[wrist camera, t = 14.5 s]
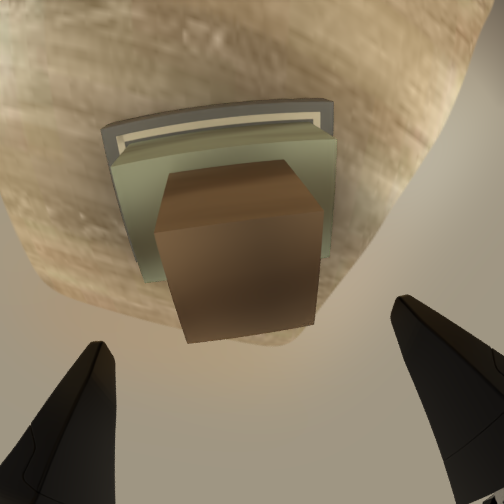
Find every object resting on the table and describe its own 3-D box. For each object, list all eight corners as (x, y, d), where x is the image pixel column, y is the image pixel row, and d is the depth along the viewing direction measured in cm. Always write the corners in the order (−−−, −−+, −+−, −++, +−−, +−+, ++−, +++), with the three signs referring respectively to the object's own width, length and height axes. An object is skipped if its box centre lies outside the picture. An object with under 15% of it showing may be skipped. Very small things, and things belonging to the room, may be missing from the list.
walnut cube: (169, 173, 13) (153, 233, 9) (284, 159, 13) (323, 210, 9) (188, 266, 16) (187, 343, 11) (285, 252, 16) (313, 324, 12)
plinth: (108, 124, 16) (99, 129, 14) (324, 98, 17) (334, 101, 15) (139, 249, 21) (136, 263, 20) (320, 224, 22) (328, 236, 21)
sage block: (129, 143, 15) (110, 166, 12) (309, 121, 16) (336, 138, 13) (152, 242, 19) (144, 283, 16) (308, 221, 20) (329, 257, 17)
